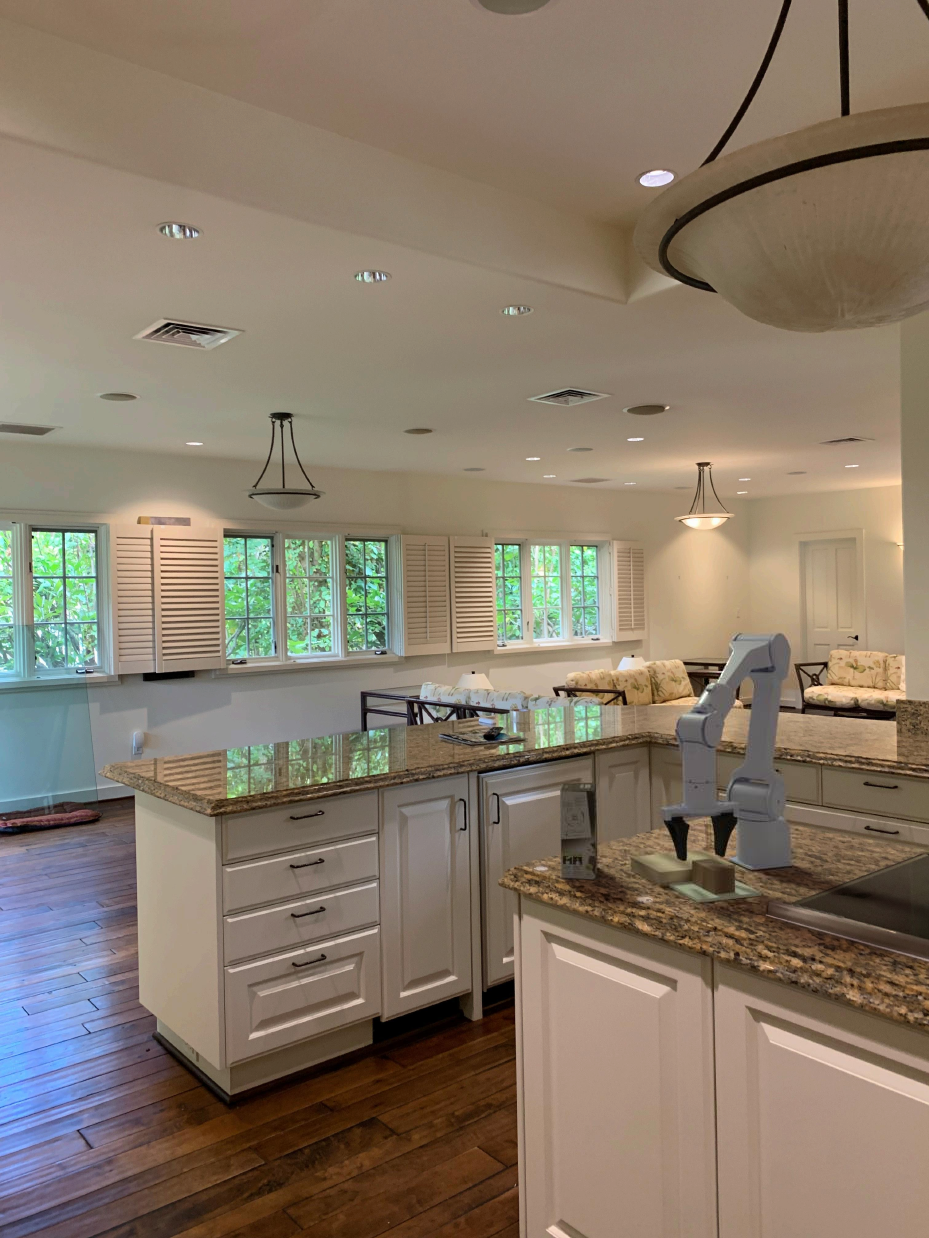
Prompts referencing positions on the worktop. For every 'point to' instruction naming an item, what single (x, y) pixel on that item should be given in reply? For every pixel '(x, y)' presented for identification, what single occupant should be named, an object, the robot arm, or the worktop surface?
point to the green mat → (705, 896)
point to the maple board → (669, 867)
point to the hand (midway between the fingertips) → (701, 857)
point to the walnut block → (713, 876)
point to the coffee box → (578, 831)
